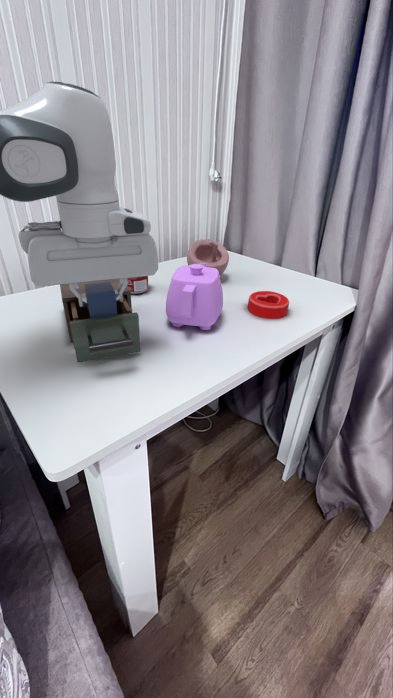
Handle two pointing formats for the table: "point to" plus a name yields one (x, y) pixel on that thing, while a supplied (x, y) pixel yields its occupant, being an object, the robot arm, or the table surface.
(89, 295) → the block
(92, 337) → the drawer
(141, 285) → the soda can
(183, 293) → the teapot
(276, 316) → the decorative ornament
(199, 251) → the mortar and pestle
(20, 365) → the table surface
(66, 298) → the cabinet
